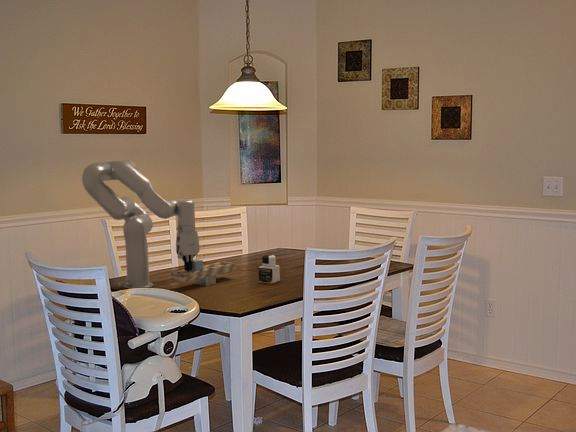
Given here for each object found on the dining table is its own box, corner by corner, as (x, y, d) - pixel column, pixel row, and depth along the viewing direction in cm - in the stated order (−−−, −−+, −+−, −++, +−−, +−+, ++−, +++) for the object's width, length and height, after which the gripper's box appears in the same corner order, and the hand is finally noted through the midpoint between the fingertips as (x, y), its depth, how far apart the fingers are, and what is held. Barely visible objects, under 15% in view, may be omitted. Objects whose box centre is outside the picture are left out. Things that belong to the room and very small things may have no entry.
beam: (183, 282, 303) (183, 274, 303) (171, 280, 308) (171, 272, 308) (235, 270, 328) (235, 262, 327) (223, 268, 333) (223, 260, 332)
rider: (195, 273, 310) (195, 261, 310) (188, 272, 313) (188, 260, 313) (203, 271, 314) (202, 260, 313) (196, 270, 317) (195, 259, 316)
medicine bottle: (258, 282, 319) (258, 256, 318) (266, 279, 325) (265, 253, 324) (272, 283, 316) (272, 257, 314) (280, 280, 322) (279, 254, 320)
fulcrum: (206, 286, 313) (206, 277, 313) (193, 283, 318) (193, 275, 318) (216, 283, 318) (215, 274, 317) (203, 281, 323) (203, 272, 323)
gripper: (179, 231, 300) (181, 274, 302) (205, 227, 311) (206, 268, 313) (167, 230, 304) (169, 272, 307) (193, 225, 316) (195, 266, 318)
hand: (188, 270), depth 310 cm, fingers closed
